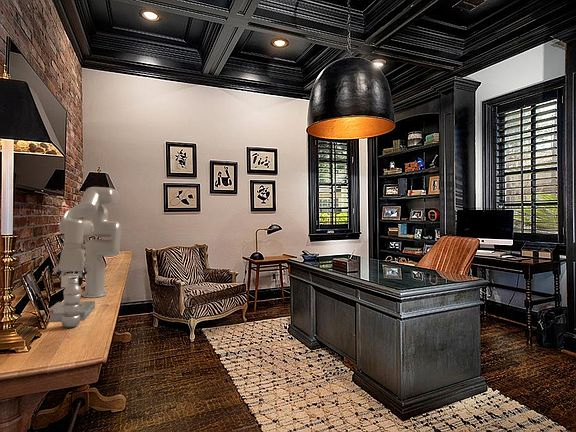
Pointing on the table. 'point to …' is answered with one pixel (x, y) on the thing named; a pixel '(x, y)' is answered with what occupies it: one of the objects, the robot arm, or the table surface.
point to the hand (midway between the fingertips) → (71, 285)
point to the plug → (65, 279)
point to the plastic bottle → (71, 303)
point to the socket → (58, 310)
